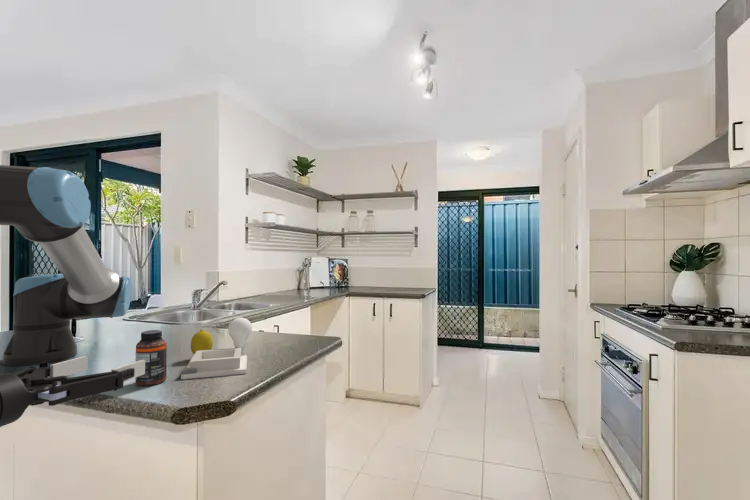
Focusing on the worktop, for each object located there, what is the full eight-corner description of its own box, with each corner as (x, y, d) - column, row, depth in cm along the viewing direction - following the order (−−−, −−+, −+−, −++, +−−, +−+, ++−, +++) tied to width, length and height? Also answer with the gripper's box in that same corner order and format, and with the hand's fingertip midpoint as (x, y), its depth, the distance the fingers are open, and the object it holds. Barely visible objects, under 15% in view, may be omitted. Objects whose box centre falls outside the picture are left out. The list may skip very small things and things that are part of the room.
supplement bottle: (152, 376, 84) (153, 328, 85) (172, 379, 82) (173, 329, 83) (128, 385, 79) (129, 332, 79) (148, 388, 77) (150, 334, 77)
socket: (191, 363, 96) (191, 349, 96) (247, 358, 100) (247, 346, 100) (181, 379, 82) (181, 364, 82) (246, 373, 87) (246, 358, 87)
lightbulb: (243, 360, 99) (244, 319, 99) (222, 358, 100) (223, 319, 100) (255, 354, 105) (256, 316, 105) (236, 353, 106) (236, 315, 106)
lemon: (195, 356, 103) (195, 328, 103) (215, 355, 103) (215, 327, 103) (186, 361, 97) (187, 331, 97) (208, 361, 98) (208, 331, 98)
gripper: (-88, 425, 53) (62, 379, 74) (47, 443, 48) (168, 388, 69) (-86, 374, 53) (64, 342, 74) (49, 386, 48) (169, 348, 69)
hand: (114, 364), depth 72 cm, fingers open, 13 cm apart
